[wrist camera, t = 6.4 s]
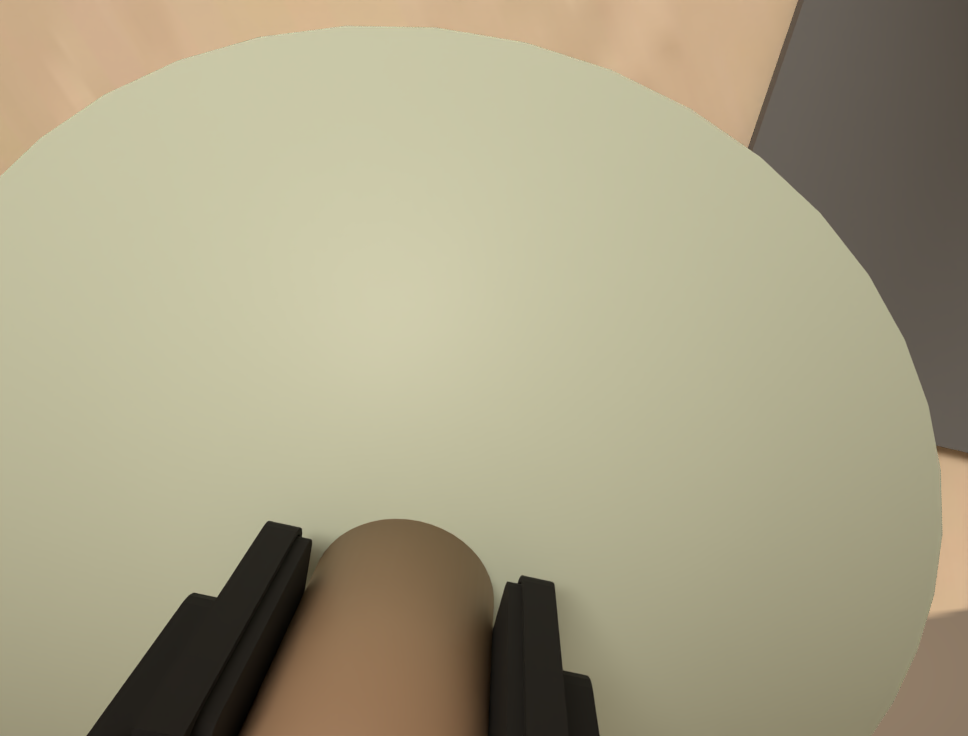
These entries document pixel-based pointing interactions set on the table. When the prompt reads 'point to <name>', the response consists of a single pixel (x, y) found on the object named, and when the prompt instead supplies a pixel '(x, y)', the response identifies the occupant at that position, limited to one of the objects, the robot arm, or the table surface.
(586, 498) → the lid
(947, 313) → the mat
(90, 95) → the table surface
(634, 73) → the table surface
